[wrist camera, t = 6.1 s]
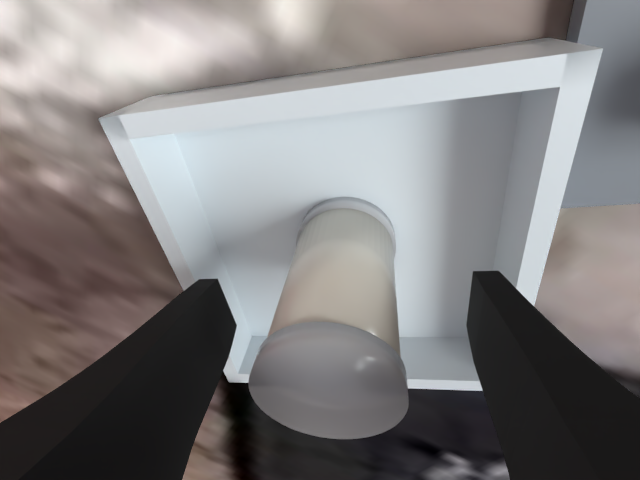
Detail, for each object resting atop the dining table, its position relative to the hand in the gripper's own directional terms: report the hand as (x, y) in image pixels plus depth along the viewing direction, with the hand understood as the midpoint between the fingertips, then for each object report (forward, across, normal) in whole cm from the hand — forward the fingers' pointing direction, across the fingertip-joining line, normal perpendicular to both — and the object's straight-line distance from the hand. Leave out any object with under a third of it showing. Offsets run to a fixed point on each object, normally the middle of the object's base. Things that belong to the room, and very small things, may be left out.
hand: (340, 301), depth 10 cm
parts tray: (+3, 0, 0) cm, 3 cm away
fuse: (+3, 0, 0) cm, 3 cm away
